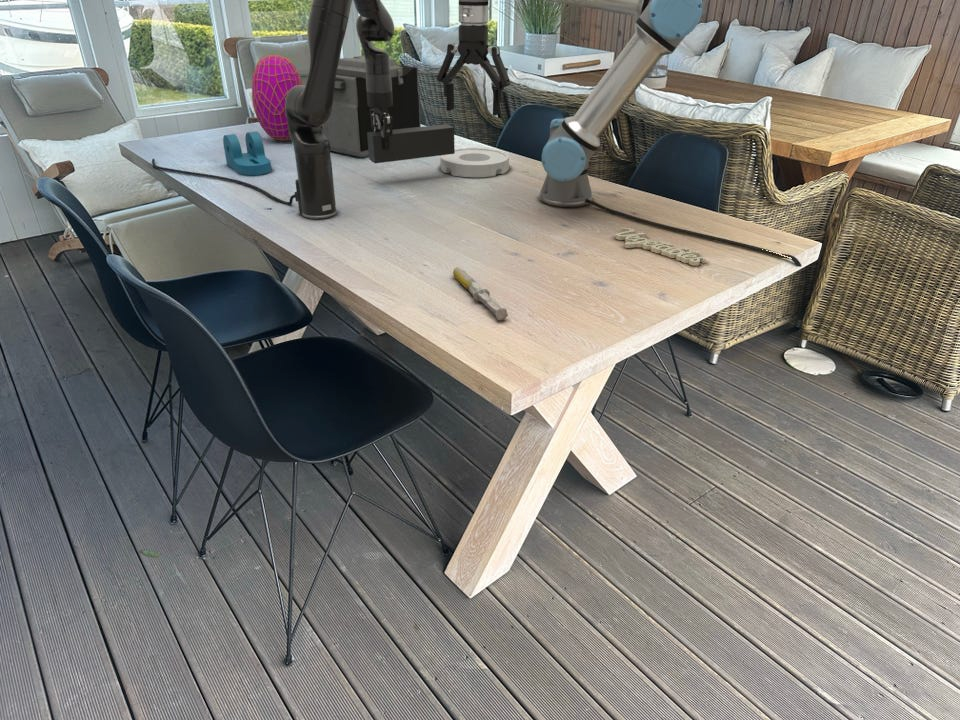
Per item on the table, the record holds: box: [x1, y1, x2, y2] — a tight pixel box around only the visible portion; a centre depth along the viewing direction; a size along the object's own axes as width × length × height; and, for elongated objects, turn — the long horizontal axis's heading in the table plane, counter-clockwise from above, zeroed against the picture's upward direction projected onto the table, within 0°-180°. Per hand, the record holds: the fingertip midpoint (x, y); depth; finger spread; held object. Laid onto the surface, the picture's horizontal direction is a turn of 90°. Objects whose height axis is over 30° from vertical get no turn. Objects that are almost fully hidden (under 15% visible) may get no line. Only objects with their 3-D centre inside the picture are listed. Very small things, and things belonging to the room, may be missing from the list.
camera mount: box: [222, 131, 272, 176], centre depth 226 cm, size 18×10×10 cm, turn 35°
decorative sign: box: [615, 227, 707, 267], centre depth 169 cm, size 26×1×10 cm
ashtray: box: [439, 147, 510, 178], centre depth 231 cm, size 23×23×4 cm
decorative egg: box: [251, 54, 304, 142], centre depth 257 cm, size 19×19×30 cm
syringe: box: [452, 266, 509, 321], centre depth 145 cm, size 25×4×3 cm, turn 21°
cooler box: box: [321, 55, 422, 159], centre depth 250 cm, size 37×22×30 cm, turn 144°
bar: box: [367, 123, 456, 164], centre depth 214 cm, size 27×6×8 cm, turn 116°
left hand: (383, 147), depth 211 cm, fingers closed on bar, 5 cm apart
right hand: (472, 112), depth 183 cm, fingers open, 13 cm apart
